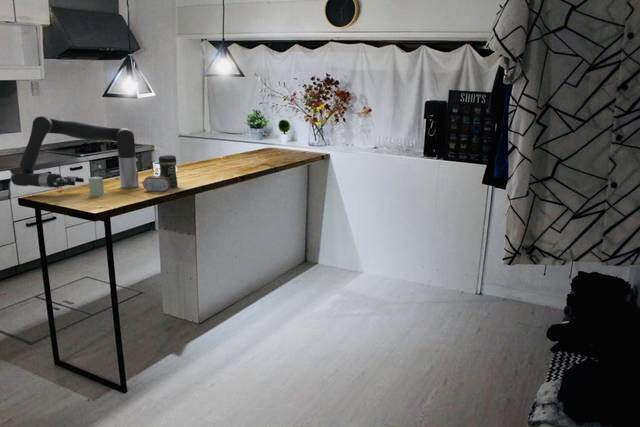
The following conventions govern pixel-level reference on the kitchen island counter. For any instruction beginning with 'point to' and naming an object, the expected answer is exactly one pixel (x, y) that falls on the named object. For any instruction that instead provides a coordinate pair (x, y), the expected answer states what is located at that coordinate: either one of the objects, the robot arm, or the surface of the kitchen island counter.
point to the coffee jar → (168, 168)
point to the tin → (157, 183)
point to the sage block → (96, 186)
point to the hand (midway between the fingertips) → (79, 181)
